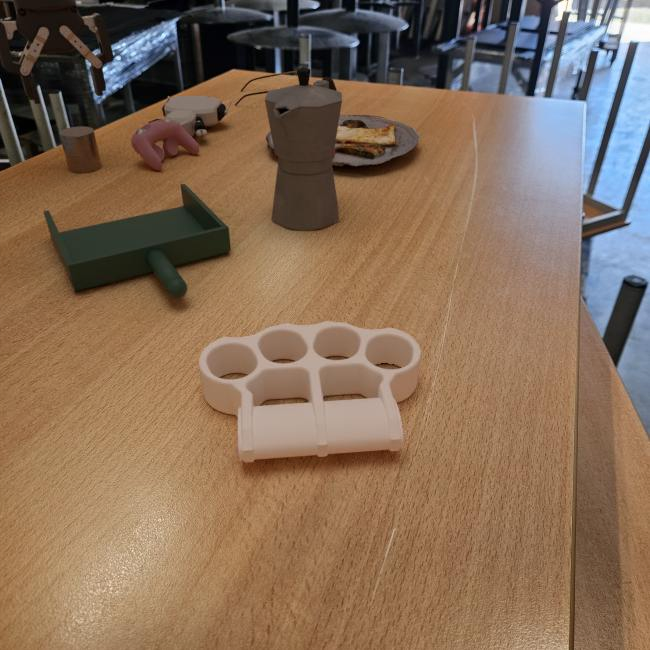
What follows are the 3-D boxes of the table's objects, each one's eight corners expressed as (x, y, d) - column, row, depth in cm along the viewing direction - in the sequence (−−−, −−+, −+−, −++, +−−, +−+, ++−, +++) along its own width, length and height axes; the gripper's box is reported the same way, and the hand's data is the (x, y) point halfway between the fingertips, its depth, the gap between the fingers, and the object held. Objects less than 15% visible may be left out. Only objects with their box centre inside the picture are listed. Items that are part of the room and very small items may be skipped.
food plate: (244, 163, 90) (242, 140, 88) (297, 121, 108) (296, 102, 106) (399, 184, 84) (401, 160, 82) (428, 136, 101) (431, 116, 99)
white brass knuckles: (195, 476, 40) (207, 348, 52) (444, 457, 42) (401, 336, 54) (188, 443, 38) (202, 317, 50) (451, 424, 40) (405, 307, 52)
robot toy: (209, 152, 96) (235, 119, 108) (206, 125, 93) (232, 94, 105) (141, 147, 98) (173, 115, 109) (135, 120, 95) (169, 91, 106)
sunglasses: (307, 108, 115) (305, 82, 112) (234, 113, 116) (230, 87, 113) (308, 90, 127) (306, 66, 124) (242, 95, 127) (238, 71, 124)
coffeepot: (318, 244, 68) (318, 85, 58) (249, 229, 71) (237, 76, 61) (362, 196, 80) (369, 56, 69) (301, 185, 83) (299, 50, 72)
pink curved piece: (186, 159, 95) (166, 117, 93) (204, 151, 92) (184, 108, 90) (143, 178, 88) (120, 134, 86) (160, 170, 86) (137, 124, 83)
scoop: (51, 237, 69) (43, 211, 67) (188, 208, 76) (184, 183, 74) (94, 335, 53) (85, 304, 51) (261, 287, 60) (259, 257, 58)
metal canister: (72, 175, 85) (62, 138, 82) (65, 165, 88) (56, 129, 85) (105, 169, 87) (96, 133, 84) (97, 159, 90) (89, 124, 87)
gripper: (87, -39, 78) (112, 87, 87) (-30, -36, 72) (11, 99, 81) (100, -35, 73) (125, 98, 82) (-24, -31, 67) (18, 112, 76)
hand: (68, 98), depth 82 cm, fingers open, 8 cm apart
